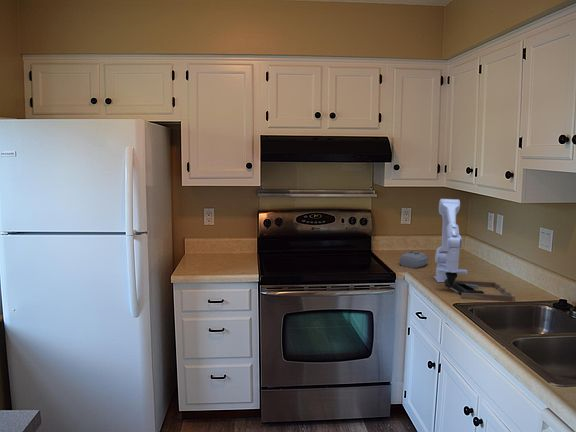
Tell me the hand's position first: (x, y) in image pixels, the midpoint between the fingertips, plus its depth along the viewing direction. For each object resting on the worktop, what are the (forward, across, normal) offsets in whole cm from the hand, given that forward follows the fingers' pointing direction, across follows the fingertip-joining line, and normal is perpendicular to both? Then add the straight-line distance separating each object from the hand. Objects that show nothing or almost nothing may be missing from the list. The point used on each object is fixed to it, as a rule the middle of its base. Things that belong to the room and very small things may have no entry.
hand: (450, 287), depth 220 cm
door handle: (+2, +8, +2) cm, 9 cm away
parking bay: (+2, +14, 0) cm, 15 cm away
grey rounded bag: (+2, -8, +52) cm, 52 cm away
